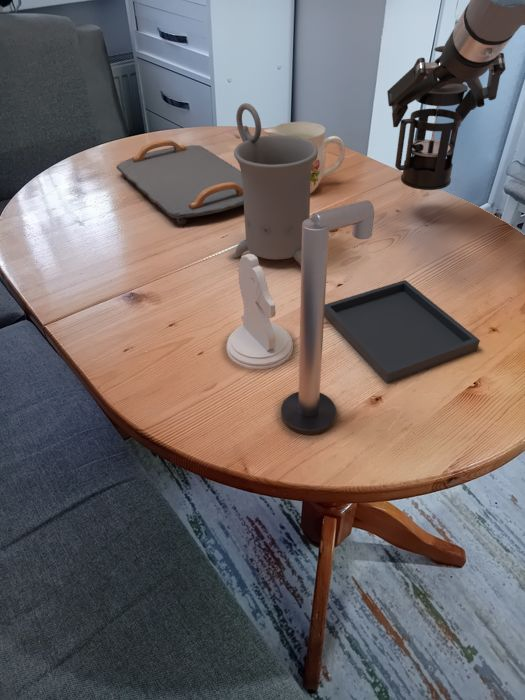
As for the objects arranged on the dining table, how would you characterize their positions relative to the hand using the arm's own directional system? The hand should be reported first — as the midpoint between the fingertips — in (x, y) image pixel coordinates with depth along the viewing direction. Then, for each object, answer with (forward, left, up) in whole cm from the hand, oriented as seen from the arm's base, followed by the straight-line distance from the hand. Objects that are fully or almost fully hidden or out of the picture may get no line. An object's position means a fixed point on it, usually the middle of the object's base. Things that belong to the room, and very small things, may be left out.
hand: (426, 118), depth 99 cm
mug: (+32, +2, -19) cm, 37 cm away
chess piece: (+46, +26, -19) cm, 56 cm away
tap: (+45, +41, -19) cm, 63 cm away
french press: (+1, +3, -11) cm, 11 cm away
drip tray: (+26, +32, -19) cm, 45 cm away
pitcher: (+14, -20, -19) cm, 31 cm away
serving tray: (+37, -33, -19) cm, 53 cm away
